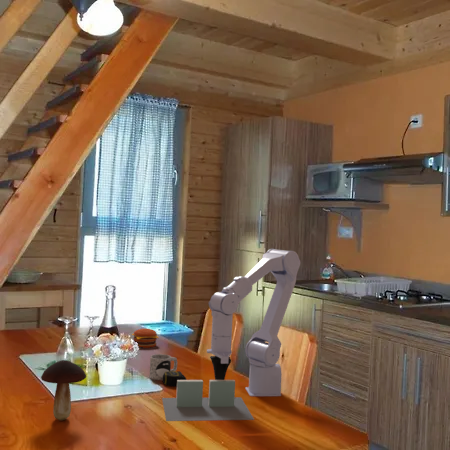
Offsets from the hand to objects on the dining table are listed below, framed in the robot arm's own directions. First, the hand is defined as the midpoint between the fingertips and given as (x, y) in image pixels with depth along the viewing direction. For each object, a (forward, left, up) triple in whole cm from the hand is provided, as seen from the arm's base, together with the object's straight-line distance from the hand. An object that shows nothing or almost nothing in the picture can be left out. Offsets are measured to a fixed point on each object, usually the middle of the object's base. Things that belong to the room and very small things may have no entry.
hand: (219, 382), depth 164 cm
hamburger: (+19, -69, -6) cm, 71 cm away
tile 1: (0, +4, -5) cm, 7 cm away
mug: (+14, -26, -6) cm, 30 cm away
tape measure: (+11, -17, -6) cm, 21 cm away
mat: (+4, +6, -6) cm, 10 cm away
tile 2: (+9, +4, -5) cm, 11 cm away
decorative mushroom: (+42, +12, -6) cm, 44 cm away
